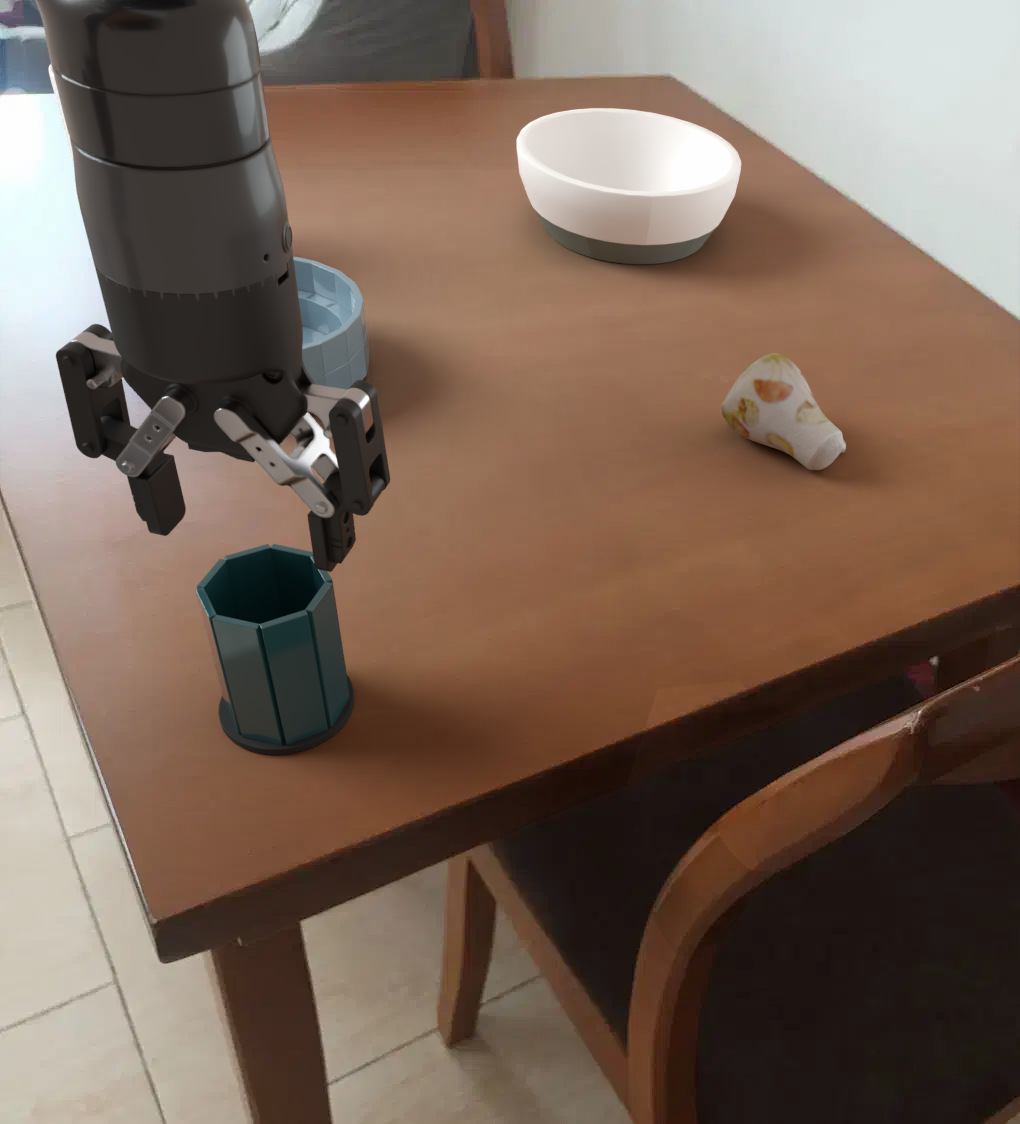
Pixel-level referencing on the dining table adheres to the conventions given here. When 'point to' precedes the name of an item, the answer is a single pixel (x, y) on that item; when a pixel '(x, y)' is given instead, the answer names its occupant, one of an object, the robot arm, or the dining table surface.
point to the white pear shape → (782, 413)
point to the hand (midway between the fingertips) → (250, 543)
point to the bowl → (627, 182)
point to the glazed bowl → (331, 325)
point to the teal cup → (275, 642)
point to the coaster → (284, 749)
